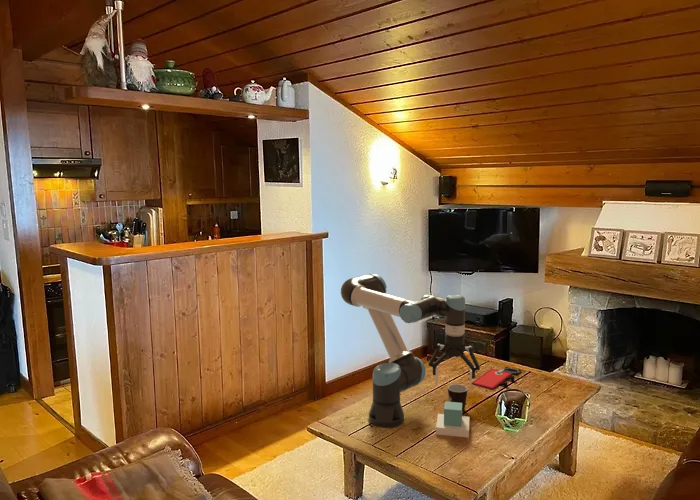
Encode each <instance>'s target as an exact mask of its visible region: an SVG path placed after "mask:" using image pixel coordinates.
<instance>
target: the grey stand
mask: <svg viewBox="0 0 700 500" xmlns="http://www.w3.org/2000/svg"><path fill="white" fill-rule="evenodd" d="M435 435H437V436H438V435H439V436H450V437H459V438H468V439H469V438H470V416H467V415H466V416H465V415H462V425H461V427H458V426H448V425H444V413H437V419H436V424H435Z"/></svg>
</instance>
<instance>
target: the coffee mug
mask: <svg viewBox="0 0 700 500" xmlns="http://www.w3.org/2000/svg"><path fill="white" fill-rule="evenodd" d="M447 395H448V402H457V403H462V413H464V412H465V410H466V409H465V408H466V402H467V395H468V387H467V386H466V385H464V384H459V383H452V384H449V385H448V386H447Z"/></svg>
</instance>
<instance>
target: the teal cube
mask: <svg viewBox="0 0 700 500" xmlns="http://www.w3.org/2000/svg"><path fill="white" fill-rule="evenodd" d="M443 414H444V425H448V426H458V427H461V425H462V416H463V412H462V403H457V402H449V401H444V408H443Z"/></svg>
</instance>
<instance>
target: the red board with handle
mask: <svg viewBox="0 0 700 500" xmlns="http://www.w3.org/2000/svg"><path fill="white" fill-rule="evenodd" d="M521 371H522V369H517V368H514V367H508V366H505V367H504V368H503V369H502V368H500V369H495V368H491V369H489V370H488V371H486V372H485V373H484V374H482V375H480V376H479V377H478V378H476V379H475V380H474V381H473V380H472V385H474V386H477V387H480V388H484V389H488V390H492V391H494V390H495V389H496V388H498V387H499V386H502V387H503V388H508V381H510V382H511V383H514V382H515V376H514V375H518V374H519V373H521Z"/></svg>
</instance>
